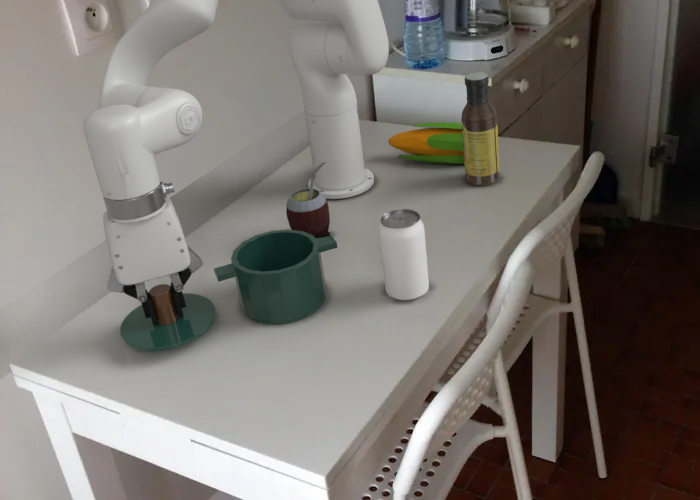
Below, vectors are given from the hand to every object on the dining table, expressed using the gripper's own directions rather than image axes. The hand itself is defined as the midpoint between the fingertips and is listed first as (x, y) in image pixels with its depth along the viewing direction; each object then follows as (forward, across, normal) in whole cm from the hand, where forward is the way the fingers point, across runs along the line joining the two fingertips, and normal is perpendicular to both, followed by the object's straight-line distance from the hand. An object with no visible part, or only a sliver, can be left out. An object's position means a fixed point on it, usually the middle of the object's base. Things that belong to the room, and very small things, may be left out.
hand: (166, 315), depth 114 cm
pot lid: (+1, 0, 0) cm, 1 cm away
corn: (+3, -58, -33) cm, 67 cm away
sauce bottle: (+3, -61, -20) cm, 64 cm away
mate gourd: (+3, -27, -16) cm, 32 cm away
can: (+3, -34, +7) cm, 35 cm away
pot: (+3, -17, 0) cm, 17 cm away
